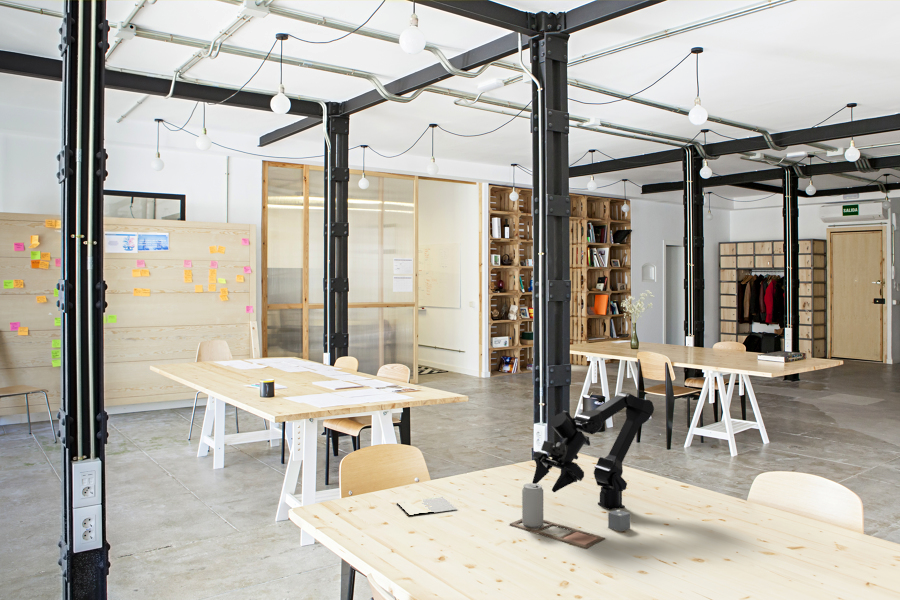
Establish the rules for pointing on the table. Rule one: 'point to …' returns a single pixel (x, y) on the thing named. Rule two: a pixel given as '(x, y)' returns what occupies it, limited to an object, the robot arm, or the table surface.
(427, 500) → the paper stack
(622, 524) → the grey cube
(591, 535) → the brown divided frame
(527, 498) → the beverage can
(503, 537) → the table surface
